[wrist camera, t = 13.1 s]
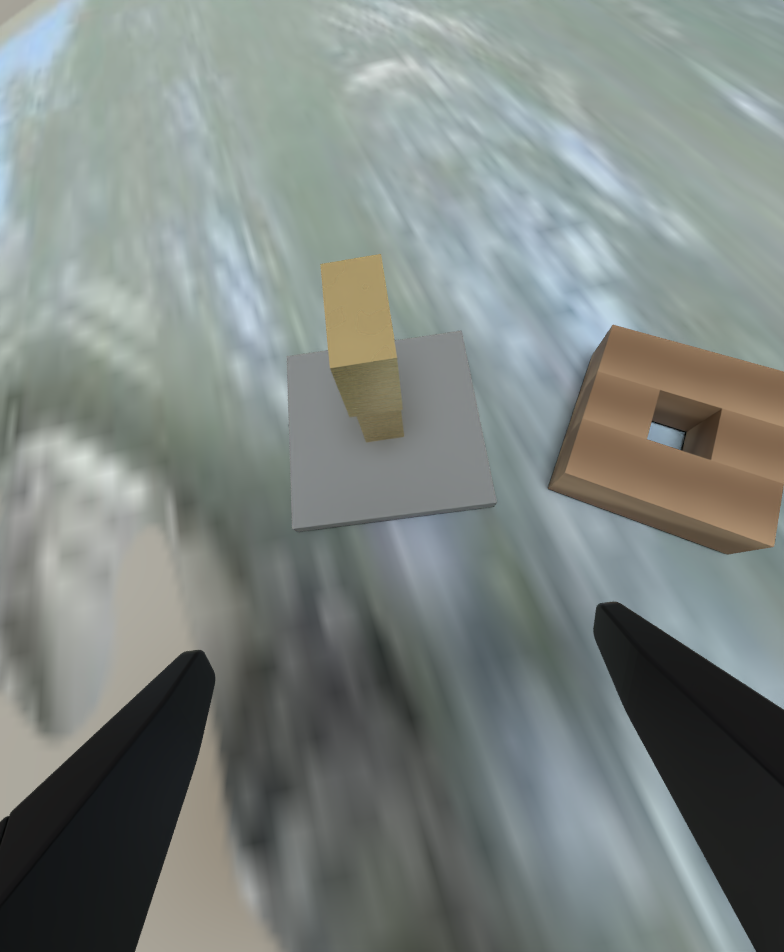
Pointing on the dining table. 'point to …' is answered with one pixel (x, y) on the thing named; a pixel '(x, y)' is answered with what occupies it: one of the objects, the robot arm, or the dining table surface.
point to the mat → (387, 442)
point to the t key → (363, 345)
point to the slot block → (705, 447)
